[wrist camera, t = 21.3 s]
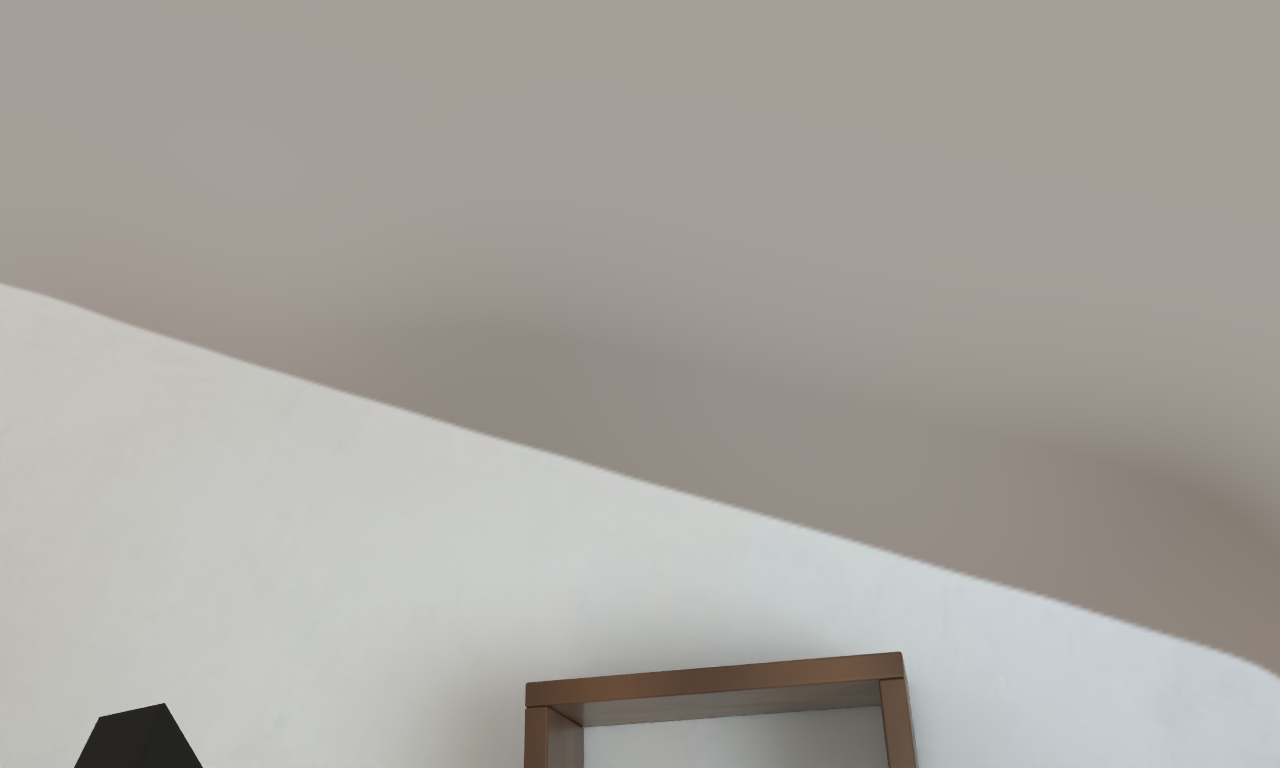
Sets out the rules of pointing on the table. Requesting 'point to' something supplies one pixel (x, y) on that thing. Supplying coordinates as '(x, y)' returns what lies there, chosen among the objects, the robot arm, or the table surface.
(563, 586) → the table surface
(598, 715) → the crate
